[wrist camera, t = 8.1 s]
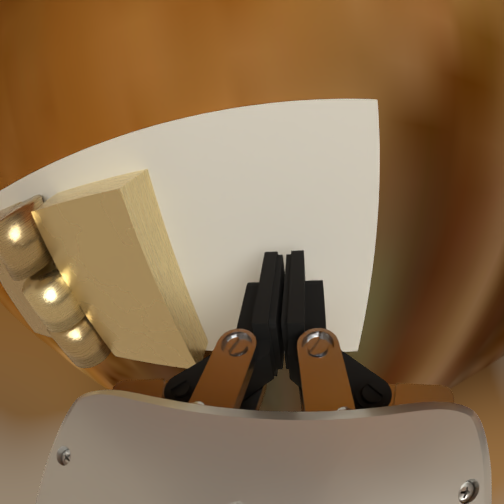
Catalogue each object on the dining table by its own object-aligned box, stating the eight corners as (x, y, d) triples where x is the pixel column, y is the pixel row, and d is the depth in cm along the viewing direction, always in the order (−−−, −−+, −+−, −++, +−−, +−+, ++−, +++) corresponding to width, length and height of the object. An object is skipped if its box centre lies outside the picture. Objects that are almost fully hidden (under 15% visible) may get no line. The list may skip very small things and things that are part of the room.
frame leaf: (-10, 215, 15) (-41, 242, 12) (52, 189, 13) (2, 225, 9) (46, 316, 22) (25, 346, 18) (123, 329, 19) (99, 373, 16)
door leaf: (25, 204, 14) (-17, 237, 10) (147, 168, 11) (89, 211, 8) (90, 326, 20) (67, 364, 17) (208, 341, 18) (191, 396, 14)
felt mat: (-22, 204, 15) (-24, 206, 15) (374, 99, 9) (377, 99, 8) (41, 320, 23) (39, 322, 23) (356, 346, 17) (357, 350, 17)
